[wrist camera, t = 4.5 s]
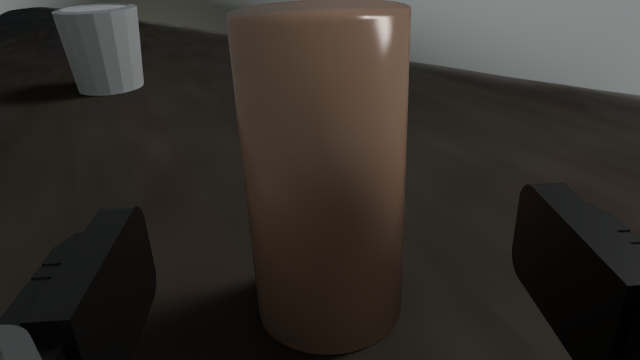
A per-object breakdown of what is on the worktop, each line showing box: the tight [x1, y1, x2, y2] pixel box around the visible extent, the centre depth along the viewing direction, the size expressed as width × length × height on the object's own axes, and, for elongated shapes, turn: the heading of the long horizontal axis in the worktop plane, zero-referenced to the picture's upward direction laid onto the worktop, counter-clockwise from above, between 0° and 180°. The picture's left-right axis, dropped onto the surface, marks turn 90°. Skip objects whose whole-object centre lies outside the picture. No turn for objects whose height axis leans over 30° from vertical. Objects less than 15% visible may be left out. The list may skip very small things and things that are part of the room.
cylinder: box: [226, 0, 411, 355], centre depth 16 cm, size 5×5×10 cm
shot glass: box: [52, 3, 144, 96], centre depth 46 cm, size 7×7×7 cm
